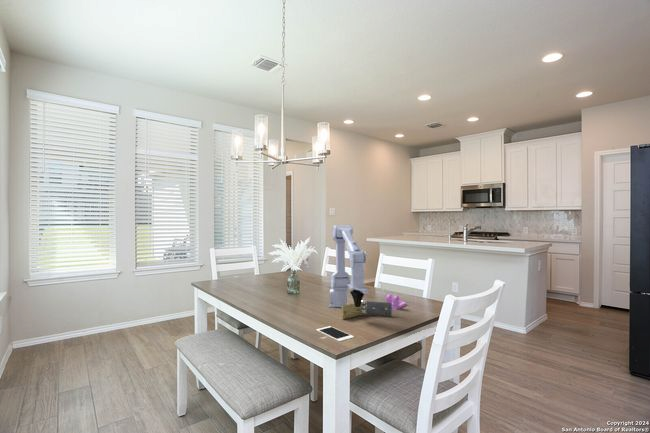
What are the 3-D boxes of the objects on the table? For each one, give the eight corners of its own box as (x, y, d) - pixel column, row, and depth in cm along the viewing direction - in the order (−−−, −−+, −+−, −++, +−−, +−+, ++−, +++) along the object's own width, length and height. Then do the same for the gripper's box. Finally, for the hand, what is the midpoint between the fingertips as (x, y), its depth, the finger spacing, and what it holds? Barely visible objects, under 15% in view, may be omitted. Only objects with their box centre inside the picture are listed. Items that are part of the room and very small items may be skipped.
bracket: (395, 310, 167) (395, 296, 167) (386, 308, 170) (386, 294, 170) (407, 304, 177) (407, 292, 177) (398, 303, 180) (397, 290, 180)
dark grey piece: (360, 314, 158) (360, 300, 158) (361, 313, 160) (361, 299, 160) (391, 316, 155) (391, 302, 155) (391, 315, 157) (391, 301, 157)
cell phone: (339, 342, 124) (339, 340, 124) (315, 330, 137) (315, 329, 137) (354, 338, 128) (354, 336, 128) (330, 327, 141) (330, 325, 141)
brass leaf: (363, 312, 161) (363, 300, 161) (367, 313, 159) (366, 301, 159) (340, 318, 152) (340, 305, 152) (344, 319, 150) (344, 306, 150)
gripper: (342, 275, 154) (342, 303, 154) (358, 280, 141) (358, 311, 141) (354, 274, 157) (354, 302, 157) (372, 279, 144) (372, 309, 144)
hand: (357, 306), depth 149 cm, fingers closed
